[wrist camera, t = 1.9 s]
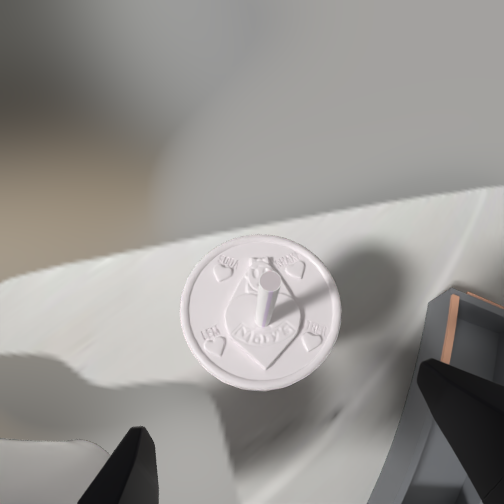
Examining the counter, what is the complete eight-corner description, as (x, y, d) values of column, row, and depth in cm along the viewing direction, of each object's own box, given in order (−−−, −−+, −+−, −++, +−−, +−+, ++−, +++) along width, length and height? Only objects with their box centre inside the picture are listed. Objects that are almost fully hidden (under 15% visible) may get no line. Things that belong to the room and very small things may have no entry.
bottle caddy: (408, 587, 11) (427, 604, 7) (317, 587, 12) (328, 611, 9) (500, 325, 21) (528, 313, 17) (428, 298, 22) (454, 281, 19)
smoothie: (208, 393, 19) (139, 390, 7) (207, 301, 22) (156, 168, 9) (306, 388, 19) (405, 373, 7) (298, 297, 22) (360, 163, 9)
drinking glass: (133, 439, 18) (-30, 476, 4) (136, 521, 15) (16, 620, 1) (53, 419, 17) (-113, 403, 4) (56, 497, 15) (-88, 534, 1)
